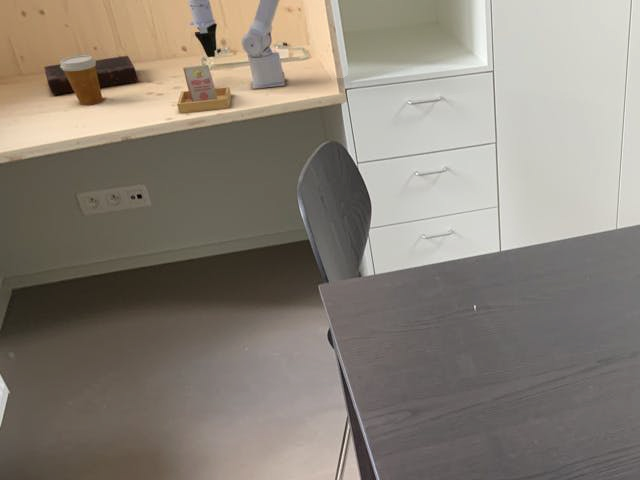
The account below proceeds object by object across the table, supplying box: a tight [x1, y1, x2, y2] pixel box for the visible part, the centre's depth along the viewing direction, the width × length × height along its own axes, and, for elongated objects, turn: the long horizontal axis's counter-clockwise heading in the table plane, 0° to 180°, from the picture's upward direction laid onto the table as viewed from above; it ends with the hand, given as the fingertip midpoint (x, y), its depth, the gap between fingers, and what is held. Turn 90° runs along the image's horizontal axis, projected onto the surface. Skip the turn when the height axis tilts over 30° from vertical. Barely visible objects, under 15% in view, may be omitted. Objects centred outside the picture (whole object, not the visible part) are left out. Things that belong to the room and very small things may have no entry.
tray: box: [176, 86, 232, 114], centre depth 227 cm, size 14×13×2 cm
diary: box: [43, 55, 139, 96], centre depth 249 cm, size 19×25×5 cm
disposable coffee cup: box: [60, 54, 103, 106], centre depth 230 cm, size 10×10×12 cm
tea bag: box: [182, 64, 217, 102], centre depth 224 cm, size 4×7×10 cm, turn 106°
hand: (212, 53), depth 236 cm, fingers open, 7 cm apart
